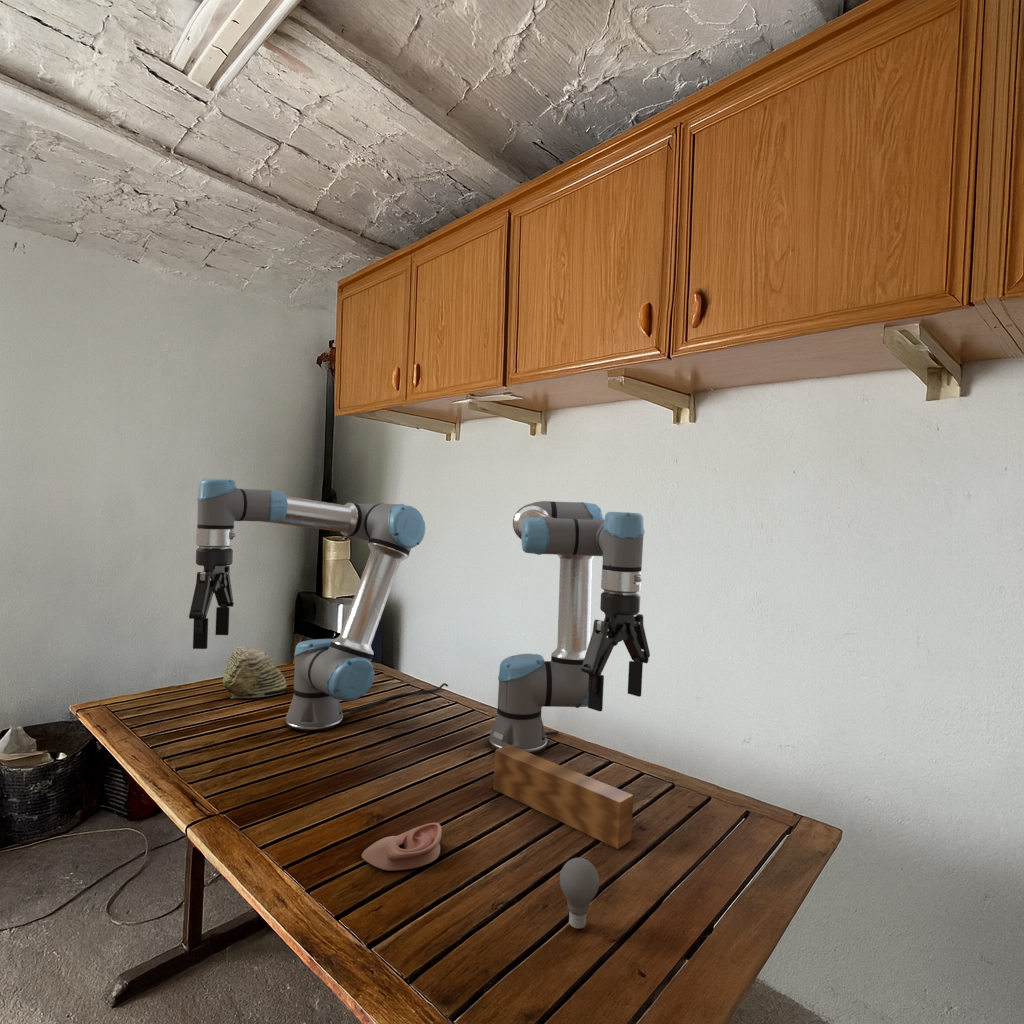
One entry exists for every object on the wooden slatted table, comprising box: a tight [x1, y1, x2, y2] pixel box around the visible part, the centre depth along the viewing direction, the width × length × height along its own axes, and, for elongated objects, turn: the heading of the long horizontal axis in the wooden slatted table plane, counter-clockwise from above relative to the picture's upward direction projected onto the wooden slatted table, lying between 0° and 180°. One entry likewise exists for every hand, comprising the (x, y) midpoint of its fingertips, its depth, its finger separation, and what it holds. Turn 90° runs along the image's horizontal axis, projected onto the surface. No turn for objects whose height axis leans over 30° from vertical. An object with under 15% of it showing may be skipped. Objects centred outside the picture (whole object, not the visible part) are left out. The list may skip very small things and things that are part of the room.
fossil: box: [222, 646, 288, 699], centre depth 198 cm, size 9×18×15 cm, turn 132°
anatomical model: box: [361, 822, 443, 872], centre depth 114 cm, size 13×4×12 cm
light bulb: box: [559, 857, 600, 929], centre depth 96 cm, size 6×6×10 cm
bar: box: [492, 745, 634, 850], centre depth 131 cm, size 33×5×9 cm, turn 47°
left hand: (211, 641), depth 143 cm, fingers open, 13 cm apart
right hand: (615, 702), depth 122 cm, fingers open, 13 cm apart
